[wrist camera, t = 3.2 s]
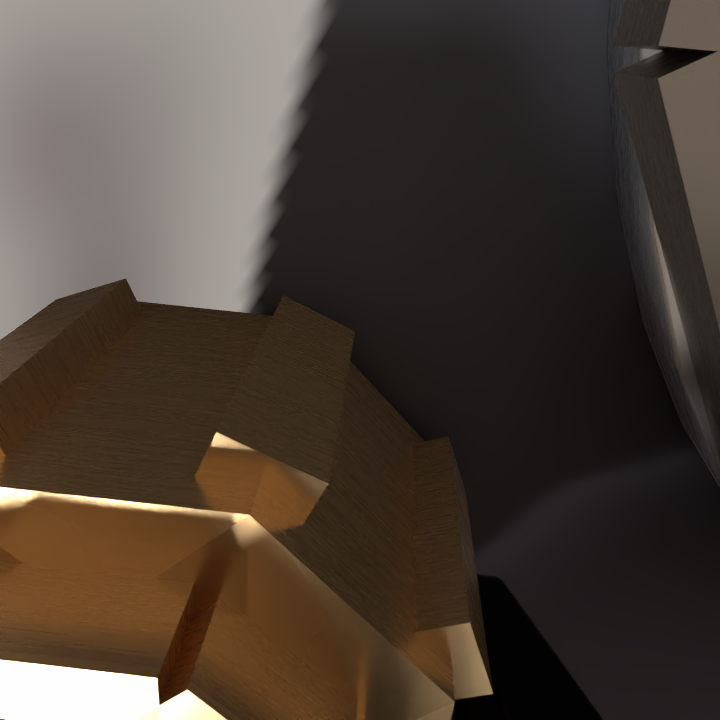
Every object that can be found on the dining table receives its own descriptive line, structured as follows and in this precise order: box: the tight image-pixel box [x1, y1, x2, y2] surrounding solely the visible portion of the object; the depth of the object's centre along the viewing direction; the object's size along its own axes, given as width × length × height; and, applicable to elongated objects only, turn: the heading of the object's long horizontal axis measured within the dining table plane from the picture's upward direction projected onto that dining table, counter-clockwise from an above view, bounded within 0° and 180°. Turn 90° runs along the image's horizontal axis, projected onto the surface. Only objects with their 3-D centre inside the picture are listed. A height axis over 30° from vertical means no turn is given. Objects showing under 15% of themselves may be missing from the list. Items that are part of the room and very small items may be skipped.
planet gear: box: [0, 279, 493, 720], centre depth 7 cm, size 7×7×4 cm
